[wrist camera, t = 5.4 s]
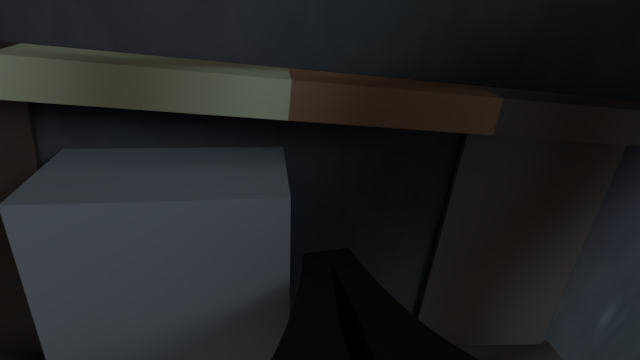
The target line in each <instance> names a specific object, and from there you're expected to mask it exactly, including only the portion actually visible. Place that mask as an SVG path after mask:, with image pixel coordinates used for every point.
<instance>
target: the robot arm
mask: <svg viewBox="0 0 640 360" xmlns="http://www.w3.org/2000/svg"><path fill="white" fill-rule="evenodd" d="M271 360H479V359H477V358H475V357H474V356H472V355H470V354H468V353H467V352H465V351H464V350H462V349H460V348H459V347H457V346H455V345H454V344H452V343H451V342H449V341H447V340H446V339H444V338H443V337H441V336H440V335H438V334H437V333H436V332H434V331H433V330H431V329H430V328H429V327H427V326H426V325H425V324H423V323H422V322H421V321H420V320H418V319H417V318H416V317H415V316H414V315H412V314H411V313H410V312H409V311H408V310H406V309H405V308H404V307H403V306H402V305H401V304H400V303H399V302H397V301H396V300H395V299H394V298H393V297H392V296H391V295H390V294H389V293H388V292H387V291H386V290H385V289H384V288H383V287H382V286H381V285H380V284H379V283H378V282H377V281H376V280H375V279H374V278H373V277H372V275H371V274H370V273H369V272H368V271H367V270H366V269H365V268H364V266H363V265H362V264H361V263H360V262H359V260H358V259H357V258H356V257H355V255H354V254H353V253H352V251H350V250H349V249H348V248H345V249H337V250H329V251H321V252H313V253H305V254H304V255H303V256H302V272H301V278H300V283H299V287H298V291H297V295H296V299H295V303H294V306H293V309H292V312H291V314H290V317H289V320H288V323H287V326H286V328H285V331H284V333H283V335H282V338H281V340H280V342H279V344H278V347H277V349H276V351H275V353H274V355H273V357H272V359H271Z"/></svg>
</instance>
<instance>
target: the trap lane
mask: <svg viewBox="0 0 640 360" xmlns="http://www.w3.org/2000/svg"><path fill="white" fill-rule="evenodd" d="M31 102H38V103H52V104H66V105H80V106H94V107H107V108H121V109H135V110H149V111H163V112H177V113H191V114H204V115H218V116H232V117H246V118H260V119H274V120H288V121H301V122H315V123H329V124H343V125H357V126H371V127H385V128H399V129H412V130H426V131H440V132H454V133H464V137H463V141H462V144H461V148H460V152H459V156H458V159H457V163H456V167H455V171H454V175H453V178H452V182H451V186H450V190H449V193H448V197H447V201H446V205H445V209H444V212H443V216H442V220H441V224H440V228H439V231H438V235H437V239H436V243H435V246H434V250H433V254H432V258H431V262H430V265H429V269H428V273H427V277H426V280H425V284H424V288H423V292H422V296H421V299H420V303H419V307H418V311H417V314H416V318H417V319H418V320H420V321H421V322H422V323H423V324H425V325H426V326H427V327H429V328H430V329H431V330H433V331H434V332H436V333H437V334H438V335H440V336H441V337H443V338H444V339H446V340H447V341H449V342H451V343H452V344H454V345H455V346H457V347H459V348H460V349H462V350H464V351H465V352H467V353H468V354H470V355H472V356H474V357H475V358H477V359H479V360H562V358H561V357H560V356H559V355H558V353H557V352H556V351H555V350H554V348H553V347H552V346H551V345H550V343H549V342H542V341H543V339H544V337H545V334H546V332H547V330H548V328H549V325H550V323H551V321H552V318H553V316H554V314H555V311H556V309H557V307H558V304H559V302H560V300H561V297H562V295H563V293H564V290H565V288H566V286H567V284H568V281H569V279H570V277H571V274H572V272H573V270H574V267H575V265H576V263H577V260H578V258H579V256H580V253H581V251H582V249H583V246H584V244H585V242H586V240H587V237H588V235H589V233H590V230H591V228H592V226H593V223H594V221H595V219H596V216H597V214H598V212H599V209H600V207H601V205H602V202H603V200H604V198H605V196H606V193H607V191H608V189H609V186H610V184H611V182H612V179H613V177H614V175H615V172H616V170H617V168H618V165H619V163H620V161H621V158H622V156H623V154H624V152H625V149H626V147H627V145H634V146H640V101H639V100H628V99H617V98H607V97H596V96H585V95H574V94H563V93H552V92H542V91H531V90H520V89H509V88H498V87H488V86H477V85H466V84H455V83H444V82H433V81H423V80H412V79H401V78H390V77H379V76H369V75H358V74H347V73H336V72H325V71H314V70H304V69H293V68H282V67H271V66H260V65H250V64H239V63H228V62H217V61H206V60H196V59H185V58H174V57H163V56H152V55H141V54H131V53H120V52H109V51H98V50H87V49H77V48H66V47H55V46H44V45H33V44H22V43H12V42H1V41H0V203H1V202H3V201H4V200H5V199H6V198H7V197H8V196H9V195H11V194H12V193H13V192H14V191H15V190H16V189H17V188H19V187H20V186H21V185H22V184H23V183H24V182H25V181H26V180H28V179H29V178H30V177H31V176H32V175H33V174H34V173H36V172H37V171H38V170H39V169H40V168H41V162H40V156H39V149H38V143H37V137H36V131H35V125H34V119H33V113H32V106H31ZM0 360H46V359H45V355H44V352H43V349H42V346H41V343H40V339H39V336H38V333H37V330H36V326H35V323H34V320H33V317H32V314H31V310H30V307H29V304H28V301H27V298H26V294H25V291H24V288H23V285H22V281H21V278H20V275H19V272H18V269H17V265H16V262H15V259H14V256H13V252H12V249H11V246H10V243H9V240H8V236H7V233H6V230H5V227H4V224H3V220H2V217H1V214H0Z"/></svg>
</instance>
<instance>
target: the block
mask: <svg viewBox="0 0 640 360" xmlns="http://www.w3.org/2000/svg"><path fill="white" fill-rule="evenodd" d="M0 214H1V217H2V220H3V224H4V227H5V230H6V233H7V236H8V240H9V243H10V246H11V249H12V252H13V256H14V259H15V262H16V265H17V269H18V272H19V275H20V278H21V281H22V285H23V288H24V291H25V294H26V298H27V301H28V304H29V307H30V310H31V314H32V317H33V320H34V323H35V326H36V330H37V333H38V336H39V339H40V343H41V346H42V349H43V352H44V355H45V359H46V360H271V359H272V357H273V355H274V353H275V351H276V349H277V347H278V344H279V342H280V340H281V338H282V335H283V333H284V331H285V328H286V326H287V323H288V320H289V315H290V227H291V196H290V189H289V183H288V176H287V169H286V163H285V156H284V150H283V147H207V148H109V149H62V150H61V151H59V152H58V153H57V154H56V155H55V156H54V157H53V158H52V159H50V160H49V161H48V162H47V163H46V164H45V165H44V166H42V167H41V168H40V169H39V170H38V171H37V172H36V173H34V174H33V175H32V176H31V177H30V178H29V179H28V180H26V181H25V182H24V183H23V184H22V185H21V186H20V187H19V188H17V189H16V190H15V191H14V192H13V193H12V194H11V195H9V196H8V197H7V198H6V199H5V200H4V201H3V202H1V203H0Z"/></svg>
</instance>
